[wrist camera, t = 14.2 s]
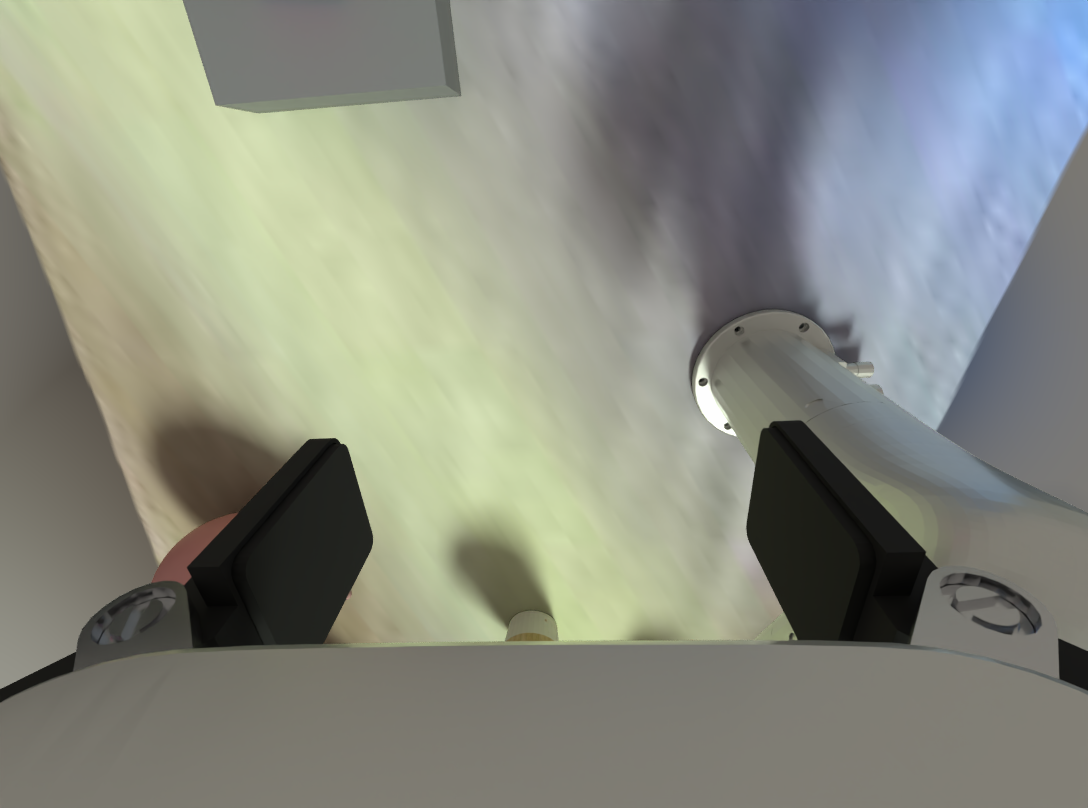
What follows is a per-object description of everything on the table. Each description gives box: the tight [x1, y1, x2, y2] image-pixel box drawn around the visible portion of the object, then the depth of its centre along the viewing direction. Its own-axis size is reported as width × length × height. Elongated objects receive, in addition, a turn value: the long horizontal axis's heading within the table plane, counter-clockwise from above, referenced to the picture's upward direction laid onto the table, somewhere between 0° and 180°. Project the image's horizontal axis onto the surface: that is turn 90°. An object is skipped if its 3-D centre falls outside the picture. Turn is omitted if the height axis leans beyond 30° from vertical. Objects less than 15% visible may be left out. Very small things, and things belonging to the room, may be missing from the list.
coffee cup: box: [505, 610, 558, 641], centre depth 55 cm, size 10×10×15 cm
